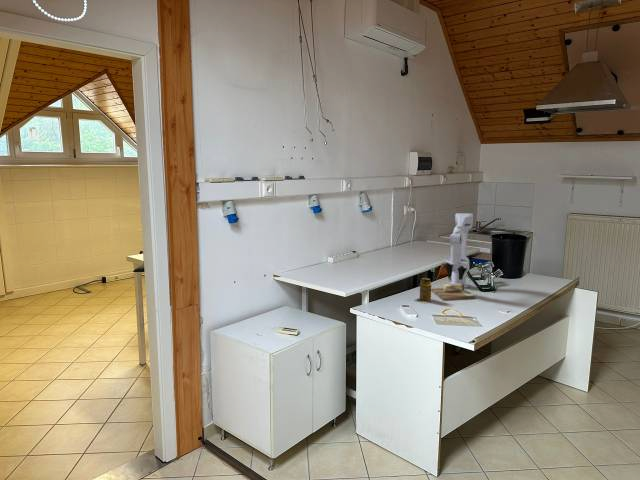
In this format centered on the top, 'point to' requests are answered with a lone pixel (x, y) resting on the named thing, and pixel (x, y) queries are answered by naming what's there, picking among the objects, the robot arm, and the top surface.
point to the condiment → (425, 290)
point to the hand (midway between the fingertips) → (455, 278)
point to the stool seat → (452, 294)
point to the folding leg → (453, 287)
